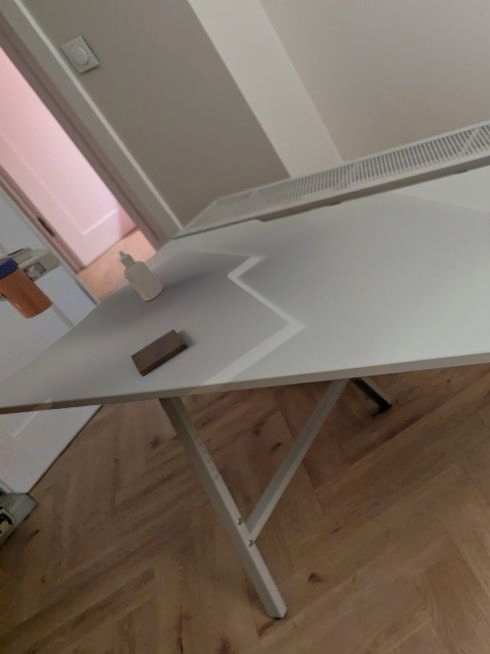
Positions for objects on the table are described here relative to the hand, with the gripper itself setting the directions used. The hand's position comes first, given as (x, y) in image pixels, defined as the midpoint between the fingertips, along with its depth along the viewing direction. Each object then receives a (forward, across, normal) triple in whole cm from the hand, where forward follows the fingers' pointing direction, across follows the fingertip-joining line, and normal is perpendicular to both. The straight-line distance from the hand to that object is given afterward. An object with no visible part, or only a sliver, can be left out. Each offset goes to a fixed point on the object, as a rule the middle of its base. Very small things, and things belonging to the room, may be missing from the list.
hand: (17, 286), depth 108 cm
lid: (-1, 0, -5) cm, 5 cm away
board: (+31, +6, +16) cm, 35 cm away
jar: (-1, 0, +6) cm, 6 cm away
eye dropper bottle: (+1, +20, +16) cm, 25 cm away
